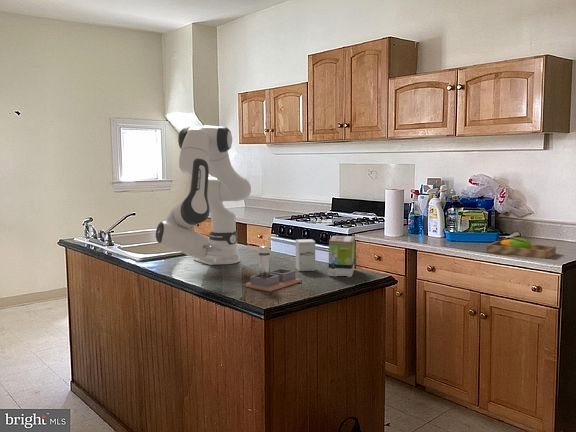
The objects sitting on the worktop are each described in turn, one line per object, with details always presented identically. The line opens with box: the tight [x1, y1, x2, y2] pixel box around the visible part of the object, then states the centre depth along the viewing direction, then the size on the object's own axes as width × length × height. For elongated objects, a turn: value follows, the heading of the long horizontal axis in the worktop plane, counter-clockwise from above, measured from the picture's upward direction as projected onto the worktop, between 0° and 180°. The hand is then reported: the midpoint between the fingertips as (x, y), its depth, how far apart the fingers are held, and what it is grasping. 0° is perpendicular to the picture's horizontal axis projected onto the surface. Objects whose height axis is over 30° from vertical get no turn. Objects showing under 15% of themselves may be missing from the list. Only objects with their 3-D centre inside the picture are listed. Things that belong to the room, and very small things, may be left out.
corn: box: [501, 236, 532, 249], centre depth 265 cm, size 7×8×20 cm
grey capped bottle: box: [258, 245, 271, 278], centre depth 201 cm, size 4×4×14 cm
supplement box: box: [295, 238, 316, 272], centre depth 230 cm, size 7×7×13 cm
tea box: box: [327, 235, 356, 278], centre depth 223 cm, size 15×10×15 cm
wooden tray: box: [486, 240, 557, 259], centre depth 263 cm, size 28×15×4 cm, turn 51°
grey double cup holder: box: [245, 267, 301, 292], centre depth 205 cm, size 12×18×4 cm, turn 141°
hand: (231, 258), depth 202 cm, fingers open, 8 cm apart
